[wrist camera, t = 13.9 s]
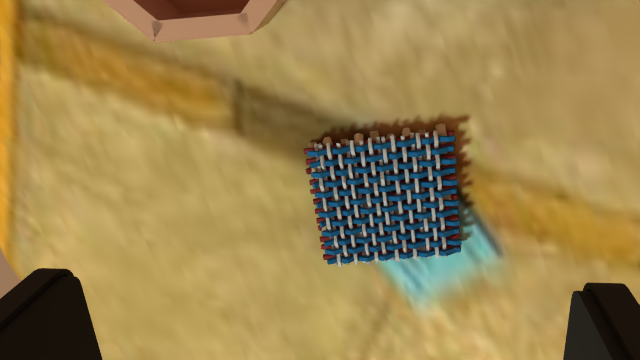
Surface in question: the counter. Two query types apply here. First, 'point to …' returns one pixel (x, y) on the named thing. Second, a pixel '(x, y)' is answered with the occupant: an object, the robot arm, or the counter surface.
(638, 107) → the counter surface
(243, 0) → the bowl
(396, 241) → the woven mat
